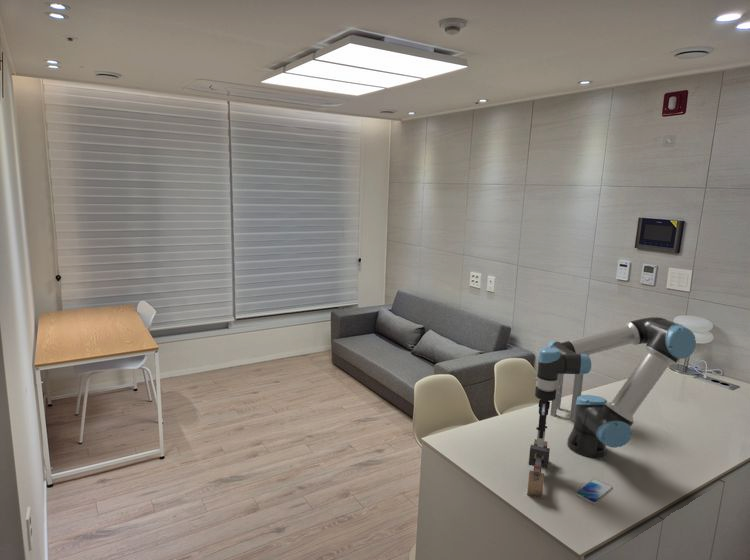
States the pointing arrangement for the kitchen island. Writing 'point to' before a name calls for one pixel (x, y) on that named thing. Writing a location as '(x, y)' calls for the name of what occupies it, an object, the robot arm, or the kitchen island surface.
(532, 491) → the sliding collar rod
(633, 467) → the kitchen island surface
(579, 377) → the stool
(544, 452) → the grey rectangular sleeve
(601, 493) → the smartphone
